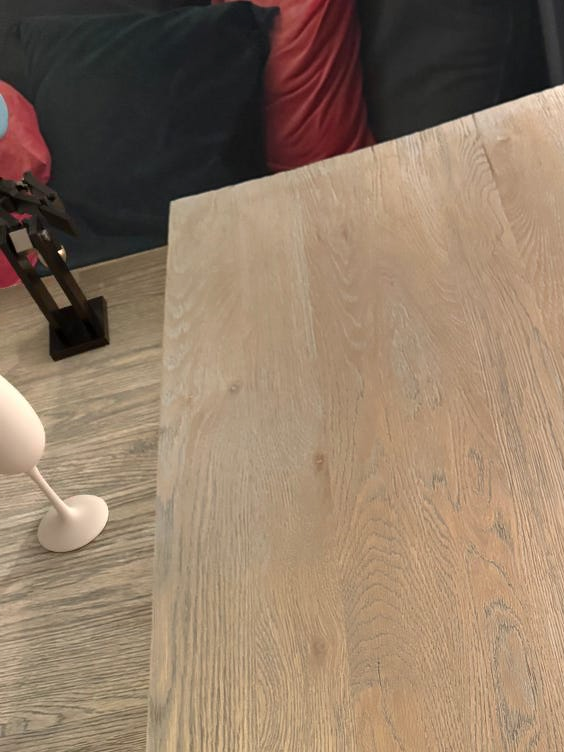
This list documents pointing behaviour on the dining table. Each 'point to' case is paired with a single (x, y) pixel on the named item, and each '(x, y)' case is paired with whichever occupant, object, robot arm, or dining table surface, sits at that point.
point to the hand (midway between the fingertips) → (64, 234)
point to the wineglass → (21, 454)
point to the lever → (28, 245)
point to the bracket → (66, 325)
